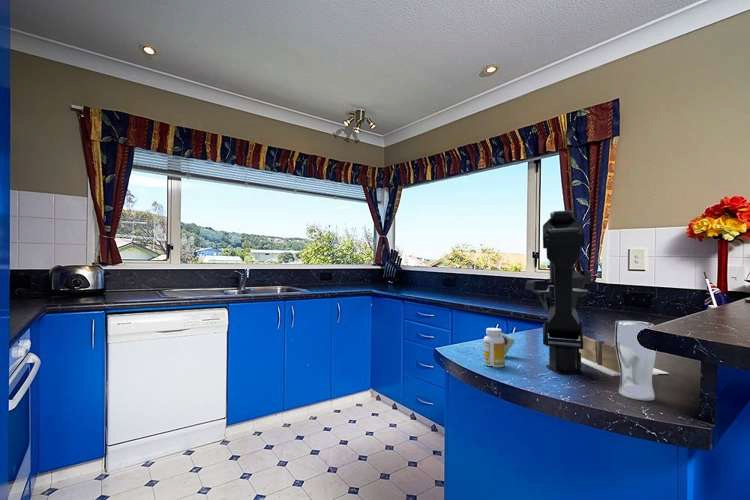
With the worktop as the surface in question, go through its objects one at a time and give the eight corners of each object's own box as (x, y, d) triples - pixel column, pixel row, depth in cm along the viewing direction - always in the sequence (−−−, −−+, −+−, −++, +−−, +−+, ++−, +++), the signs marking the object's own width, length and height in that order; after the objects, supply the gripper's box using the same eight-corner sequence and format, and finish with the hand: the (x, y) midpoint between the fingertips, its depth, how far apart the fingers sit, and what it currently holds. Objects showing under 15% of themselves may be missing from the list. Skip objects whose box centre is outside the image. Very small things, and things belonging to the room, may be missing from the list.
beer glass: (608, 389, 77) (606, 320, 77) (638, 388, 77) (635, 320, 78) (634, 402, 70) (632, 326, 70) (667, 401, 70) (664, 325, 71)
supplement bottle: (506, 364, 96) (506, 328, 97) (502, 369, 92) (501, 331, 92) (487, 361, 99) (486, 326, 100) (481, 365, 95) (481, 329, 95)
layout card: (612, 375, 86) (612, 373, 86) (568, 356, 104) (568, 354, 104) (668, 374, 87) (668, 372, 87) (615, 355, 105) (615, 354, 105)
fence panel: (600, 361, 95) (600, 341, 96) (595, 361, 95) (594, 341, 96) (578, 352, 105) (577, 334, 105) (572, 352, 105) (572, 334, 105)
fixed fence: (627, 378, 84) (626, 350, 84) (595, 365, 95) (595, 340, 95) (634, 378, 84) (633, 350, 84) (602, 365, 95) (601, 340, 95)
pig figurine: (514, 354, 106) (514, 332, 107) (518, 358, 102) (517, 334, 103) (487, 353, 107) (486, 331, 108) (489, 357, 103) (489, 334, 104)
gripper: (543, 261, 94) (544, 319, 94) (611, 261, 95) (612, 319, 94) (524, 261, 105) (525, 314, 105) (584, 261, 106) (586, 313, 106)
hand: (561, 315), depth 102 cm, fingers open, 7 cm apart
